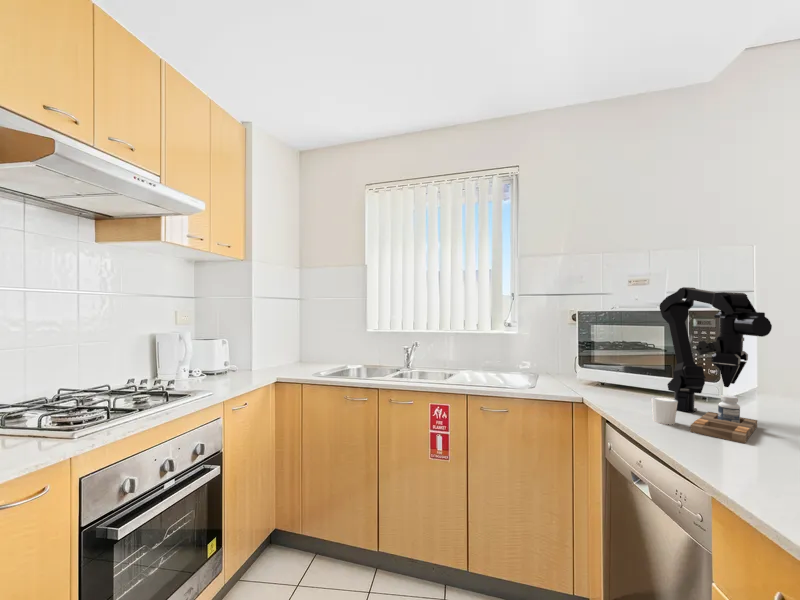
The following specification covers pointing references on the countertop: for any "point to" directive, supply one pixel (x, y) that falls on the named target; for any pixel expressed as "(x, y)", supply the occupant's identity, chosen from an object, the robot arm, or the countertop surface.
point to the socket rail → (724, 427)
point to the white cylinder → (664, 410)
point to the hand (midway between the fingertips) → (729, 385)
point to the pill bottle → (729, 409)
